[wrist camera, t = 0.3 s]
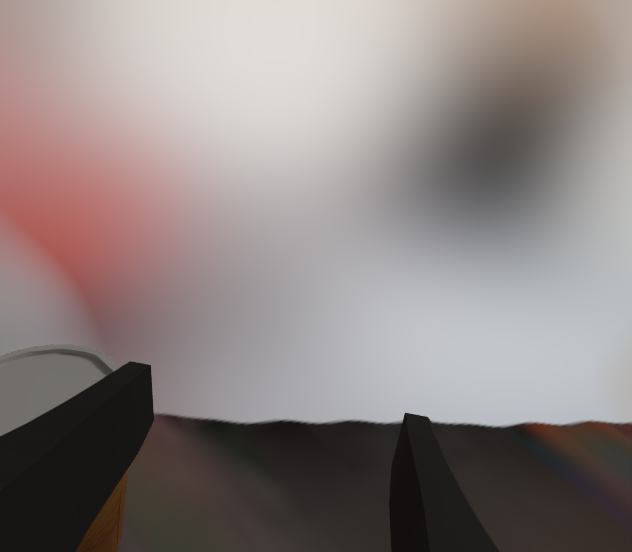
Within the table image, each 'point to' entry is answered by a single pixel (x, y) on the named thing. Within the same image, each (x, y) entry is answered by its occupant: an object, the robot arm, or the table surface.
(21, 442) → the robot arm
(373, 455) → the table surface
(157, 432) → the table surface
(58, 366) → the disposable coffee cup
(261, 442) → the table surface
